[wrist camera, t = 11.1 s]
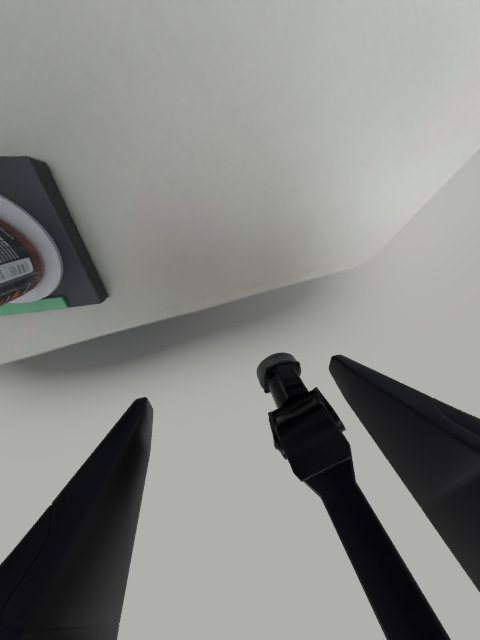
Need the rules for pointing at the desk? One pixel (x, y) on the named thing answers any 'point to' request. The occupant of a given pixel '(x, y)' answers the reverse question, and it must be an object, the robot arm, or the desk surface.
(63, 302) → the scale
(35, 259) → the supplement bottle
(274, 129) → the desk surface
